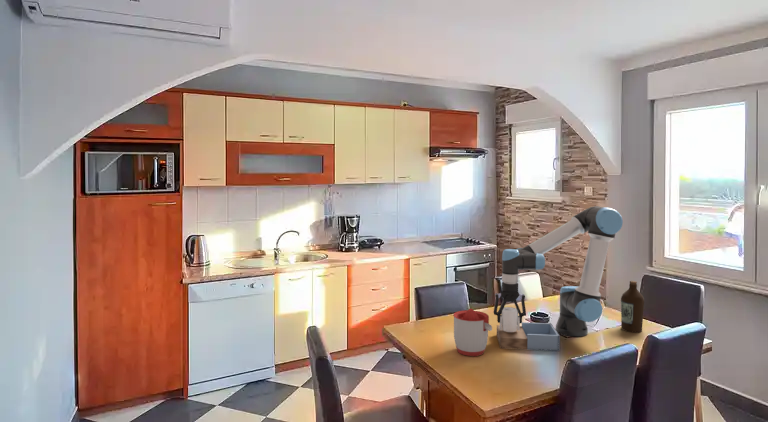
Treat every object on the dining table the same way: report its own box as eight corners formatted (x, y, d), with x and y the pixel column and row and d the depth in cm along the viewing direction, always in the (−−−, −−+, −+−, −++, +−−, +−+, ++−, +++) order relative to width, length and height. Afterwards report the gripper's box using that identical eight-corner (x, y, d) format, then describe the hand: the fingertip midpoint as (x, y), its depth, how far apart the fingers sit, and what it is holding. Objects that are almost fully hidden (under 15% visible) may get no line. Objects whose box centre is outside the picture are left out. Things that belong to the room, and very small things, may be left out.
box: (551, 337, 231) (551, 323, 231) (559, 351, 213) (559, 335, 213) (521, 336, 233) (521, 322, 233) (527, 349, 215) (527, 334, 215)
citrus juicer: (485, 362, 201) (485, 316, 200) (447, 354, 211) (447, 310, 209) (497, 350, 215) (497, 307, 213) (461, 343, 224) (461, 302, 222)
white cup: (518, 333, 220) (518, 312, 219) (501, 332, 222) (501, 311, 221) (517, 327, 228) (517, 307, 227) (500, 326, 229) (500, 306, 229)
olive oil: (630, 325, 249) (631, 278, 247) (648, 331, 239) (650, 282, 237) (615, 327, 245) (616, 280, 243) (633, 334, 235) (634, 284, 233)
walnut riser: (521, 336, 233) (521, 326, 233) (527, 349, 215) (527, 338, 215) (496, 335, 235) (496, 325, 234) (500, 348, 217) (500, 337, 217)
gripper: (531, 280, 225) (530, 327, 227) (487, 279, 228) (487, 326, 230) (533, 284, 218) (532, 332, 220) (488, 283, 221) (488, 331, 223)
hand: (509, 329), depth 225 cm, fingers closed on white cup, 7 cm apart
